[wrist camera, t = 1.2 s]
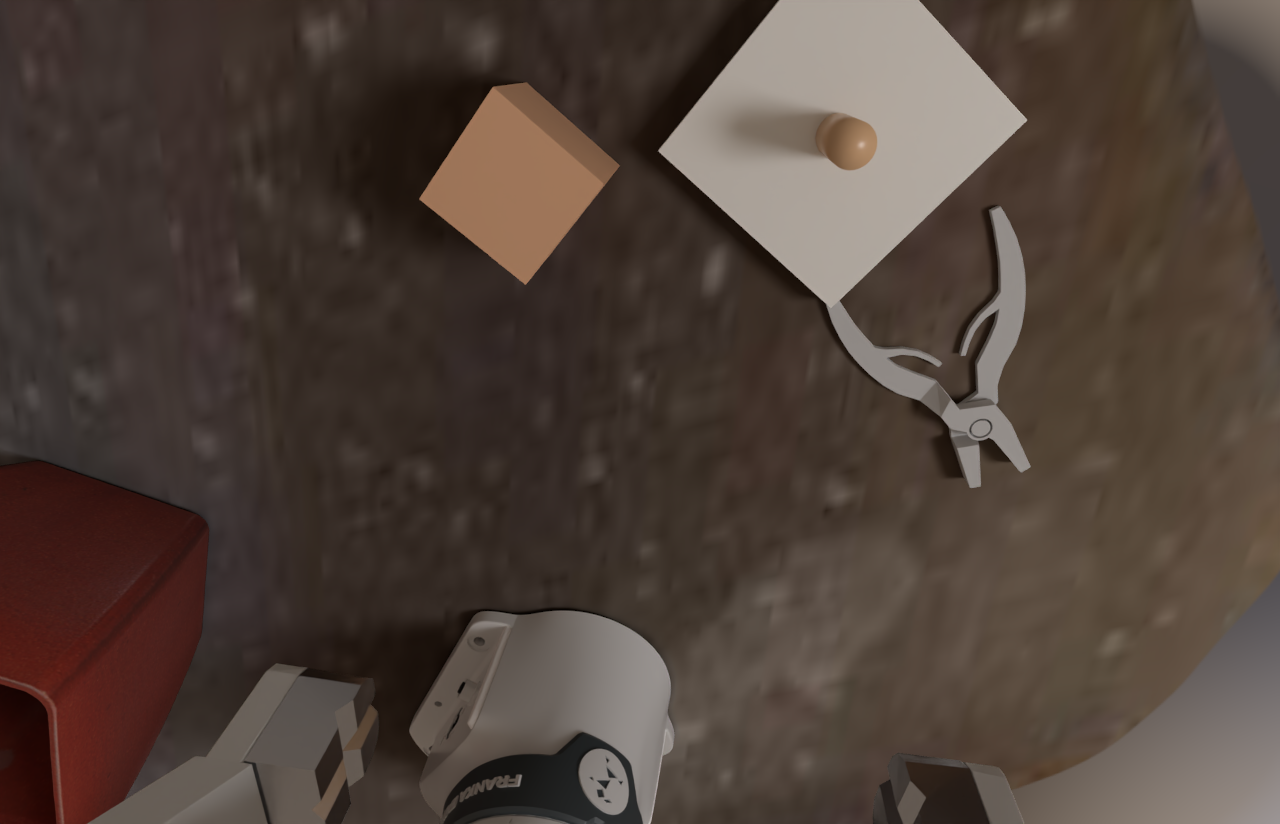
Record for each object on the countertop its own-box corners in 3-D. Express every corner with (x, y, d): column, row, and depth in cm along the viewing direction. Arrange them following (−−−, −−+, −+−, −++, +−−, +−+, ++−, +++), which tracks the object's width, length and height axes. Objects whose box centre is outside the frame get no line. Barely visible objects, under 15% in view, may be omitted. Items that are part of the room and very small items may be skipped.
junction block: (826, 299, 38) (844, 335, 33) (659, 147, 35) (652, 161, 30) (1014, 117, 33) (1067, 127, 28) (839, -76, 30) (864, -101, 25)
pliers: (1012, 207, 34) (1090, 447, 39) (1000, 201, 35) (1076, 434, 41) (821, 298, 37) (917, 510, 42) (816, 289, 38) (910, 495, 43)
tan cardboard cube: (551, 253, 38) (525, 284, 33) (461, 178, 37) (418, 199, 31) (619, 165, 36) (604, 184, 30) (526, 82, 34) (492, 86, 29)
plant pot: (-1, 601, 55) (-268, 806, 40) (-24, 399, 46) (-377, 564, 31) (238, 676, 56) (68, 901, 41) (259, 494, 48) (53, 695, 33)
